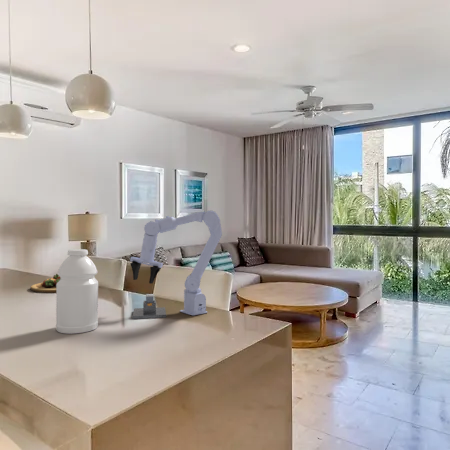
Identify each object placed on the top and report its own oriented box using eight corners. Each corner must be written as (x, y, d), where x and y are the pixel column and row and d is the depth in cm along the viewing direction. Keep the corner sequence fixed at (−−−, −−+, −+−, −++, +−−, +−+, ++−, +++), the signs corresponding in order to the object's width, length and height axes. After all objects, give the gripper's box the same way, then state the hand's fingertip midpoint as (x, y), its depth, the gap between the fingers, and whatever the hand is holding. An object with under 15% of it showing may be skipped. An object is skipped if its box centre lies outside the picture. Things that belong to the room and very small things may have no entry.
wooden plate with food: (36, 285, 222) (36, 271, 222) (92, 283, 232) (92, 270, 232) (24, 295, 192) (24, 279, 192) (89, 292, 201) (89, 277, 201)
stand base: (165, 310, 159) (165, 298, 159) (166, 317, 147) (166, 304, 146) (134, 311, 157) (134, 299, 157) (132, 319, 144) (132, 305, 144)
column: (153, 310, 153) (153, 294, 153) (153, 312, 150) (153, 295, 150) (145, 310, 153) (146, 294, 153) (145, 312, 150) (145, 295, 150)
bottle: (57, 325, 135) (58, 248, 135) (97, 321, 139) (98, 248, 139) (54, 336, 121) (55, 251, 121) (98, 332, 126) (99, 250, 126)
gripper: (128, 246, 154) (123, 278, 154) (159, 253, 149) (153, 285, 149) (137, 246, 160) (132, 277, 160) (167, 252, 156) (161, 284, 156)
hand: (143, 281), depth 155 cm, fingers open, 7 cm apart
